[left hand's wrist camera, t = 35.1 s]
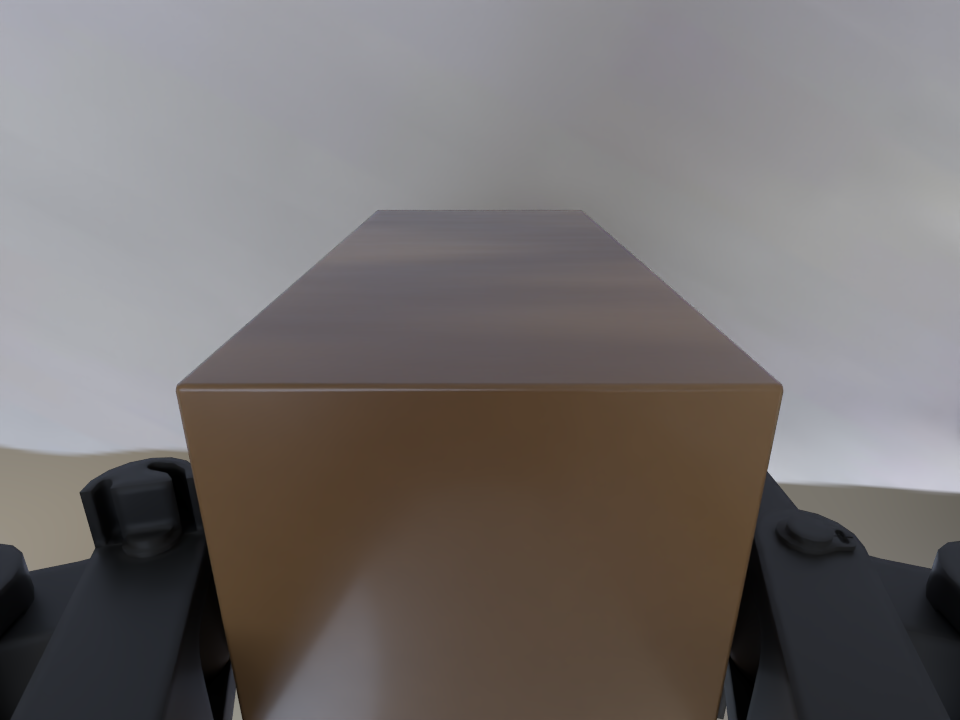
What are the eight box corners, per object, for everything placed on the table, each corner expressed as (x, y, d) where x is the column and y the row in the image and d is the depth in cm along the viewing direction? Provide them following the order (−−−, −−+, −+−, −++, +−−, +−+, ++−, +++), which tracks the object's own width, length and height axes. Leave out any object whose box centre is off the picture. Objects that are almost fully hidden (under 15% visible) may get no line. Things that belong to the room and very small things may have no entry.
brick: (582, 209, 15) (788, 385, 5) (566, 481, 18) (675, 936, 8) (376, 209, 15) (171, 385, 5) (393, 481, 18) (284, 935, 8)
